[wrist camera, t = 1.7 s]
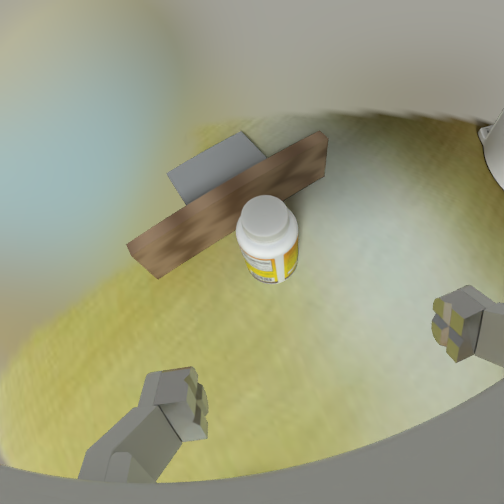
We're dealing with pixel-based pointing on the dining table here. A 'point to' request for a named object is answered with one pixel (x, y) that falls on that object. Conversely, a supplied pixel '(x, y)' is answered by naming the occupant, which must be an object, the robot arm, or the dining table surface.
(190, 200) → the grey mat
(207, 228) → the walnut screen
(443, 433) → the robot arm
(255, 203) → the supplement bottle
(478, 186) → the dining table surface
